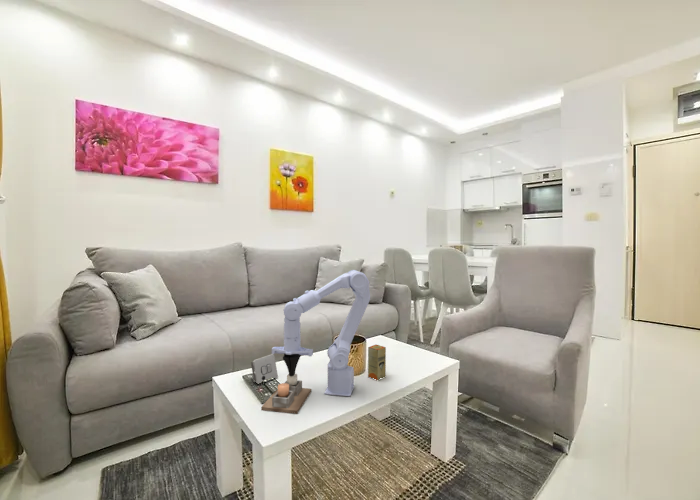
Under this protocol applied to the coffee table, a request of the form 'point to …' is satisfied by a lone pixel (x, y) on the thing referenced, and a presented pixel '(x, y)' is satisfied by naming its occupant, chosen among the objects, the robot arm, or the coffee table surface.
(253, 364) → the electrical switch
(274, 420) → the coffee table surface
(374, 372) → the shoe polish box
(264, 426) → the coffee table surface
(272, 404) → the panel
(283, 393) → the plug terracotta
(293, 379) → the plug cream
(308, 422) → the coffee table surface
